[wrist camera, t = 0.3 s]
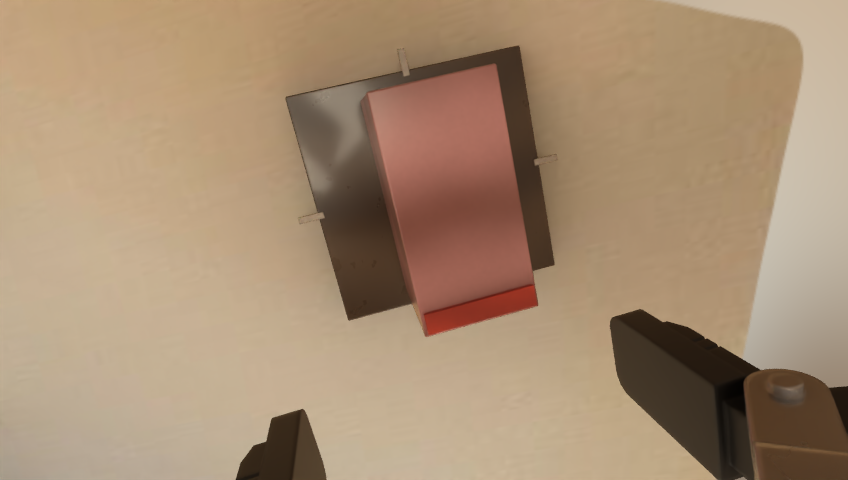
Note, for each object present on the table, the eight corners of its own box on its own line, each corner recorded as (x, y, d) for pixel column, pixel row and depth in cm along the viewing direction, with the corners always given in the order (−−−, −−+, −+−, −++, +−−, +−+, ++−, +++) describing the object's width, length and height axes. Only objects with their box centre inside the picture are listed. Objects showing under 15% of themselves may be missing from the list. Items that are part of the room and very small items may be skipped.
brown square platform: (263, 83, 27) (257, 79, 25) (522, 26, 29) (536, 19, 27) (335, 329, 31) (335, 344, 29) (560, 268, 33) (575, 277, 31)
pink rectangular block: (359, 100, 26) (366, 91, 20) (458, 78, 27) (498, 61, 20) (406, 289, 29) (426, 340, 22) (494, 265, 30) (541, 308, 23)
